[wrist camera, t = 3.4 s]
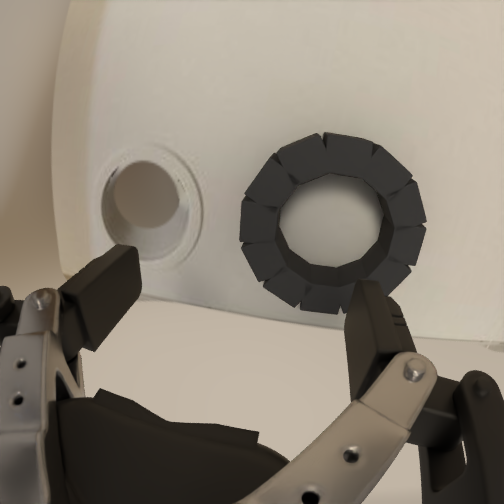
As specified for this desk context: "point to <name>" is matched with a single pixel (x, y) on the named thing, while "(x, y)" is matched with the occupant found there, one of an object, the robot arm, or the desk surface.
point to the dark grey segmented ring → (323, 277)
